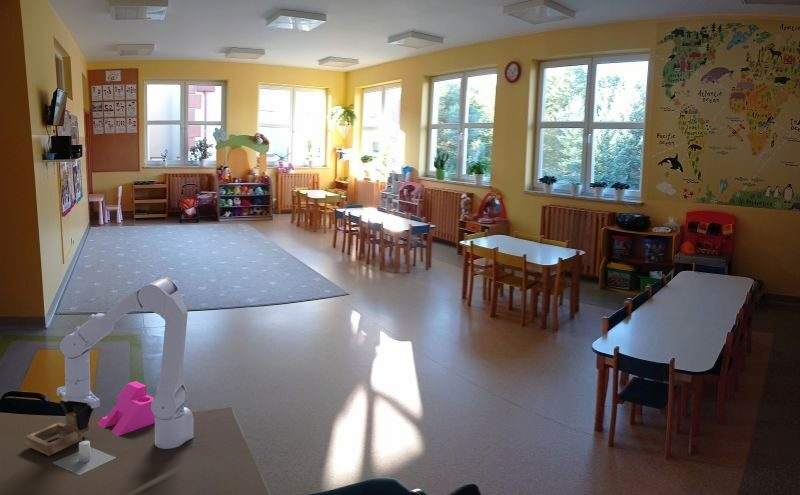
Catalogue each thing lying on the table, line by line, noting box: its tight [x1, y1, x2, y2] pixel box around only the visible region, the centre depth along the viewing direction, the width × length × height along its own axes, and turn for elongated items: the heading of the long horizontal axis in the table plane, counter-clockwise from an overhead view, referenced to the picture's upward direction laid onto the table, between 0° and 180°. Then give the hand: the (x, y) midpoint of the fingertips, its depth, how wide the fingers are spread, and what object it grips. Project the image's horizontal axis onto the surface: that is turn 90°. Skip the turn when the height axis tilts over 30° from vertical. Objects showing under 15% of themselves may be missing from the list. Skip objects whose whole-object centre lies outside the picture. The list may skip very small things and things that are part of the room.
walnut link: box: [24, 411, 90, 457], centre depth 160 cm, size 13×9×6 cm
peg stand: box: [52, 440, 117, 476], centre depth 153 cm, size 10×10×6 cm
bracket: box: [96, 380, 155, 437], centre depth 174 cm, size 12×10×10 cm
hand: (78, 427), depth 165 cm, fingers closed on walnut link, 3 cm apart
